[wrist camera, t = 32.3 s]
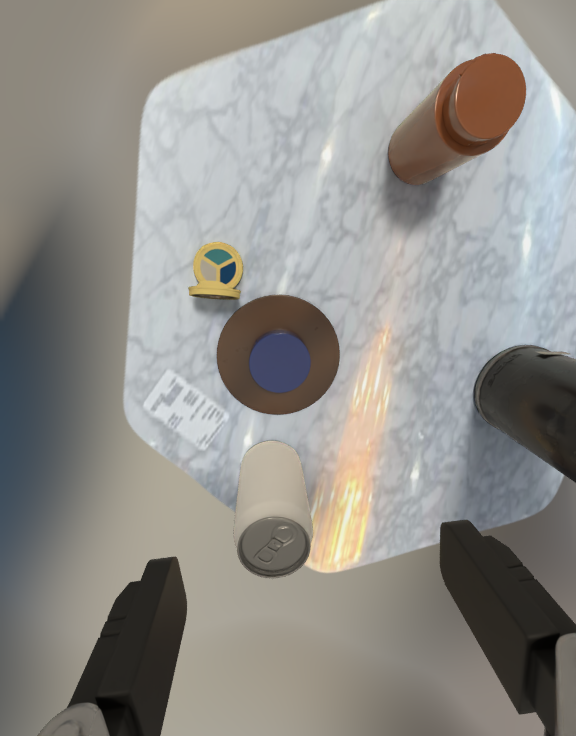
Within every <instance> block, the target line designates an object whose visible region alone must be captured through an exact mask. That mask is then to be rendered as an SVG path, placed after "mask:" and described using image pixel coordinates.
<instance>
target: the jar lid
mask: <svg viewBox="0 0 576 736" xmlns="http://www.w3.org/2000/svg"><path fill="white" fill-rule="evenodd" d="M310 366H311V360H310V355H309V352H308V349H307V347H306V346H305V344H304V342H303V341H302V340H301V339H300V338H299V337H298V336H297V335H295V334H294V333H292V332H289V331H286V330H273V331H269V332H267V333H265V334H263V335H262V336H260V337H259V338H258V339H256V342H255V343H254V345H253V346H252V349H251V352H250V358H249V368H250V372H251V375H252V377H253V379H254V380H255V381H256V383H257V384H258V385H259V386H261V387H262V388H264V389H266V390H268V391H271V392H276V393H283V392H288V391H291V390H294V389H295V388H297V387H298V386H300V385H301V384H302V383H303V382H304V381H305V379H306V378H307V376H308V374H309V371H310Z"/></svg>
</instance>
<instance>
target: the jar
mask: <svg viewBox="0 0 576 736" xmlns="http://www.w3.org/2000/svg"><path fill="white" fill-rule="evenodd" d="M525 98H526V83H525V79H524V76H523V73H522V71H521V69H520V67H519V66H518V65H517V64H516V63H515V61H513V60H512V59H511V58H509V57H507V56H505V55H501V54H496V53H491V54H483V55H481V56H479V57H476V58H475V59H473V60H469V61H466V62H464V63H462V64H460V65H459V66H457V67H456V68H454V69H453V70H452V71H451V72H450V73H449V74H448V75H447V76H446V77H445V78H444V79H443V80H442V81H441V82H440V83H439V85H438V86H437V87H436V88H435V89H434V90H433V91H432V92H431V93H430V94H429V95H428V96H427V97H426V98H425V99H424V100H423V101H422V102H421V103H420V104H419V105H418V106H417V107H416V108H415V110H414V111H413V112H412V113H411V114H410V115H409V116H408V117H407V118H406V119H405V120H404V121H403V122H402V123H401V124H400V125H399V126H398V127H397V129H396V130H395V132H394V133H393V135H392V138H391V140H390V144H389V151H388V155H389V162H390V165H391V168H392V170H393V172H394V173H395V174H396V176H397V177H398V178H399V179H401V180H402V181H404V182H406V183H408V184H412V185H420V184H424V183H427V182H429V181H431V180H433V179H435V178H437V177H439V176H441V175H443V174H445V173H447V172H449V171H451V170H453V169H455V168H457V167H459V166H461V165H463V164H464V163H466V162H468V161H470V160H472V159H474V158H476V157H478V156H480V155H482V154H484V153H486V152H488V151H490V150H491V149H493V148H494V147H495V146H497V145H498V144H499V143H500V142H501V141H502V140H503V138H504V137H505V136H506V134H507V132H508V131H509V129H510V128H511V127H512V126H513V125H514V124H515V122H516V121H517V119H518V118H519V116H520V114H521V112H522V110H523V107H524V103H525Z"/></svg>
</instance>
